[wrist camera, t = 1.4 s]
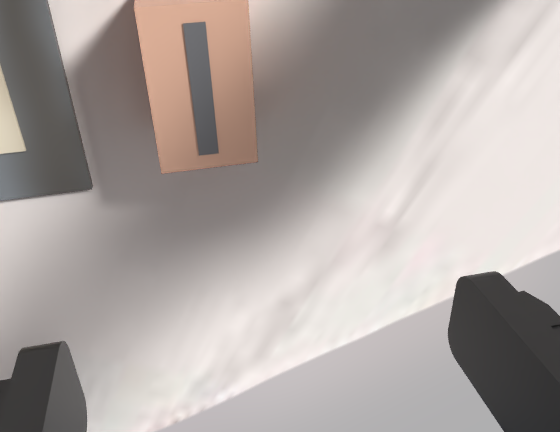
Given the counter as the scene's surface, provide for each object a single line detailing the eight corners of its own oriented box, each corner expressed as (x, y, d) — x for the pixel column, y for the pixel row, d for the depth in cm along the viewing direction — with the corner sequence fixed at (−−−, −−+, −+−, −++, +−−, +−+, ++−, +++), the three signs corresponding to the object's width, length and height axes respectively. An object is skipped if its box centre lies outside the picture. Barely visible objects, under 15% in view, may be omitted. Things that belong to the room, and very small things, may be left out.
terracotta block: (230, -18, 29) (248, -1, 23) (240, 122, 33) (258, 162, 28) (136, -12, 28) (133, 8, 23) (159, 131, 32) (161, 174, 27)
